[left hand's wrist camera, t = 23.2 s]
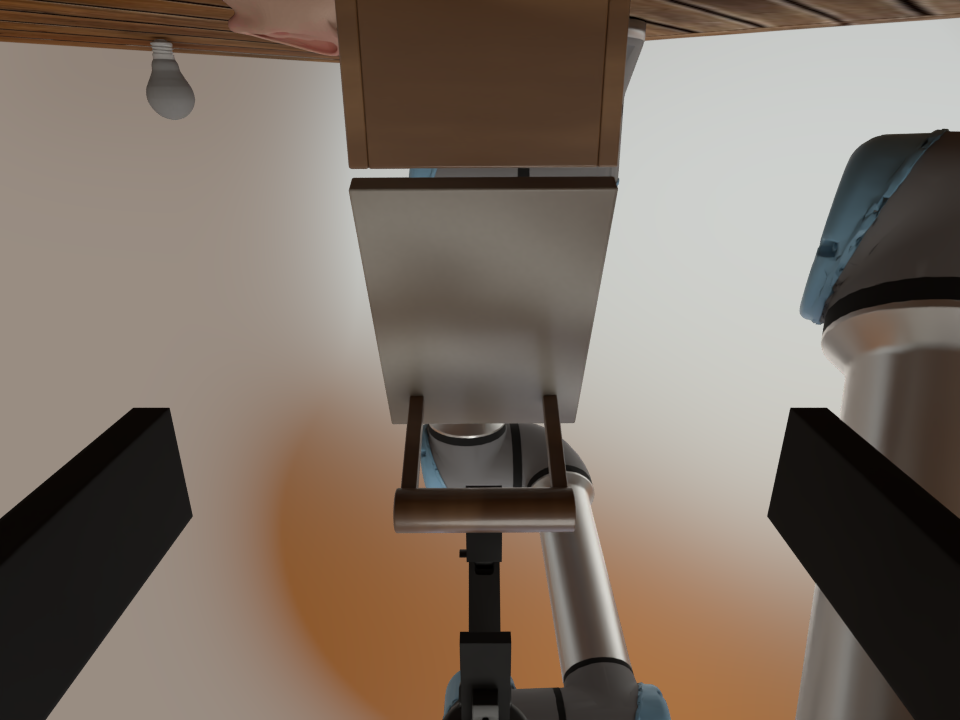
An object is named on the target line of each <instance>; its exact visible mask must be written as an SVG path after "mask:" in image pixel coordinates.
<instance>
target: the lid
mask: <svg viewBox="0 0 960 720" xmlns="http://www.w3.org/2000/svg"><path fill="white" fill-rule="evenodd" d="M617 191H618V188H617V184H616V181H615V177H613V176H576V177H414V178H353V179H352V181H351V185H350V188H349V194H350V200H351V205H352V210H353V216H354V221H355V226H356V232H357V237H358V243H359V248H360V253H361V259H362V264H363V270H364V275H365V280H366V286H367V291H368V297H369V302H370V307H371V313H372V318H373V324H374V329H375V334H376V340H377V345H378V350H379V356H380V361H381V366H382V372H383V377H384V383H385V388H386V394H387V399H388V404H389V410H390V415H391V421H392V424H407V431H406V441H405V451H404V462H403V472H402V483H401V488H398V489H397V490H396V492H395V497H394V511H393V519H394V529H395V532H396V533H492V532H574V530H575V526H576V502H575V495H574V491H573V488H571V487H568V484H567V476H566V467H565V459H564V450H563V442H562V433H561V425H560V423H574V422H575V419H576V413H577V408H578V402H579V397H580V392H581V386H582V381H583V376H584V370H585V365H586V359H587V354H588V349H589V343H590V338H591V332H592V327H593V321H594V316H595V311H596V305H597V300H598V294H599V289H600V284H601V278H602V272H603V267H604V262H605V256H606V251H607V245H608V240H609V235H610V229H611V224H612V219H613V213H614V208H615V202H616V197H617ZM492 423H544V425H545V436H546V446H547V457H548V467H549V477H550V487H509V488H418V485H419V471H420V458H421V445H422V431H423V424H492Z"/></svg>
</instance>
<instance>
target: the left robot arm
mask: <svg viewBox="0 0 960 720" xmlns="http://www.w3.org/2000/svg"><path fill="white" fill-rule="evenodd" d="M800 314H801V316H802V317H803V318H805V319H808V320H811V321H812V322H813V323H816V324H822V323H824V328H823V334H822V341H821V345H822V350H823V353H824V355H825V356H826V357H827V359H828V360H829V361H830V362H831V363H832V364H833V365H834V366H835V367H836V368H837V369H838V370H839V371H841V372H842V373H843V374H844V375H845V384H844V391H843V398H842V405H841V412H840V418H838V417H837V416H836V415H835V414H834V413H832V412H831V411H830V410H829V409H828V408H790V412H789V417H788V422H787V427H786V431H785V436H784V441H783V445H782V450H781V454H780V459H779V464H778V469H777V473H776V478H775V483H774V487H773V492H772V497H771V501H770V506H769V511H768V516H767V517H768V518H769V519H770V521H771V522H772V523H773V525H774V526H775V528H776V529H777V530H778V532H779V533H780V534H781V536H782V537H783V539H784V540H785V541H786V543H787V544H788V546H789V547H790V548H791V550H792V551H793V553H794V554H795V555H796V557H797V558H798V559H799V561H800V562H801V564H802V565H803V566H804V568H805V569H806V570H807V572H808V573H809V575H810V576H811V577H812V579H813V580H814V582H815V589H814V596H813V603H812V610H811V616H810V623H809V630H808V637H807V644H806V651H805V657H804V664H803V671H802V678H801V685H800V692H799V699H798V705H797V712H796V719H795V720H960V132H950V131H949V130H948V129H942V130H935V131H933V132H932V133H916V134H886V135H881V136H877V137H874V138H872V139H870V140H869V141H867V142H865V143H864V144H862V145H861V146H859V147H858V148H857V149H856V150H855V151H854V153H853V154H852V155H851V157H850V159H849V161H848V163H847V166H846V168H845V171H844V173H843V176H842V178H841V181H840V184H839V187H838V189H837V192H836V195H835V198H834V201H833V204H832V207H831V210H830V213H829V216H828V219H827V222H826V225H825V228H824V231H823V234H822V237H821V241H820V246H819V248H818V250H817V253H816V256H815V260H814V262H813V265H812V268H811V271H810V274H809V277H808V280H807V284H806V287H805V290H804V294H803V297H802V301H801V305H800ZM192 516H193V515H192V511H191V506H190V501H189V497H188V492H187V487H186V483H185V478H184V473H183V469H182V464H181V459H180V455H179V450H178V445H177V441H176V436H175V431H174V426H173V422H172V417H171V412H170V408H133V409H131V410H130V411H129V412H128V413H127V414H125V415H124V416H123V417H122V418H121V419H119V420H118V421H117V422H116V423H114V424H113V425H112V426H111V427H110V428H108V429H107V430H106V431H105V432H104V433H103V434H101V435H100V436H99V437H98V438H96V439H95V440H94V441H93V442H92V443H90V444H89V445H88V446H87V447H86V448H84V449H83V450H82V451H81V452H80V453H78V454H77V455H76V456H75V457H74V458H72V459H71V460H70V461H69V462H68V463H67V464H65V465H64V466H63V467H62V468H60V469H59V470H58V471H57V472H56V473H54V474H53V475H52V476H51V477H50V478H48V479H47V480H46V481H45V482H44V483H42V484H41V485H40V486H39V487H38V488H36V489H35V490H34V491H33V492H32V493H30V494H29V495H28V496H27V497H26V498H24V499H23V500H22V501H21V502H20V503H18V504H17V505H16V506H15V507H14V508H12V509H11V510H10V511H9V512H8V513H6V514H5V515H4V516H3V517H2V518H1V519H0V720H46V719H47V717H48V716H49V714H50V713H51V712H52V710H53V709H54V707H55V706H56V705H57V703H58V702H59V701H60V699H61V698H62V696H63V695H64V694H65V692H66V691H67V689H68V688H69V687H70V685H71V684H72V683H73V681H74V680H75V678H76V677H77V676H78V674H79V673H80V671H81V670H82V669H83V667H84V666H85V665H86V663H87V662H88V660H89V659H90V658H91V656H92V655H93V654H94V652H95V651H96V649H97V648H98V646H99V645H100V644H101V642H102V641H103V640H104V638H105V637H106V635H107V634H108V633H109V631H110V630H111V629H112V627H113V626H114V624H115V623H116V622H117V620H118V619H119V618H120V616H121V615H122V613H123V612H124V611H125V609H126V608H127V606H128V605H129V604H130V602H131V601H132V599H133V598H134V597H135V595H136V594H137V593H138V591H139V590H140V588H141V587H142V586H143V584H144V583H145V582H146V580H147V579H148V577H149V576H150V575H151V573H152V572H153V571H154V569H155V568H156V566H157V565H158V564H159V562H160V561H161V559H162V558H163V557H164V555H165V554H166V552H167V551H168V550H169V548H170V547H171V546H172V544H173V543H174V541H175V540H176V539H177V537H178V536H179V535H180V533H181V532H182V530H183V529H184V528H185V526H186V525H187V523H188V522H189V521H190V519H191V518H192Z"/></svg>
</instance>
